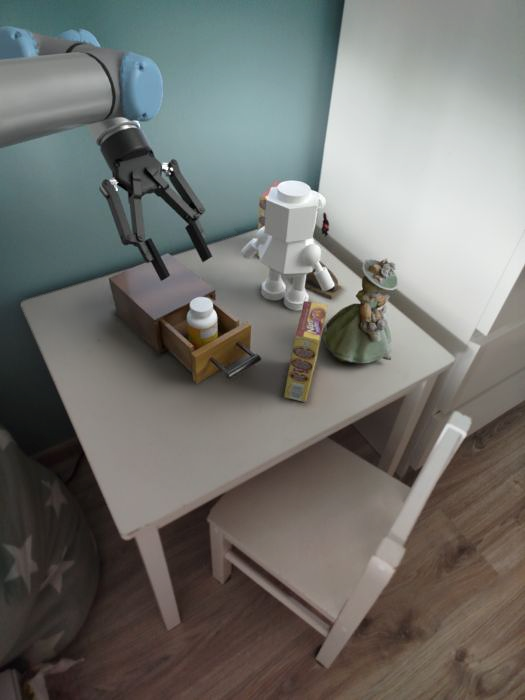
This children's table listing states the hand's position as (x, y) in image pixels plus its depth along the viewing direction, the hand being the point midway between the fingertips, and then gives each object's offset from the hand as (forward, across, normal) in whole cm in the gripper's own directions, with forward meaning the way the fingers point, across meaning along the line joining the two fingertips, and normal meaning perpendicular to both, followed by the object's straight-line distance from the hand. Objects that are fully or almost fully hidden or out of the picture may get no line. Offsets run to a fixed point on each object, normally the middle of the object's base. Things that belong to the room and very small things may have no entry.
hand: (187, 268), depth 77 cm
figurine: (+28, +23, -3) cm, 36 cm away
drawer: (+15, 0, +8) cm, 17 cm away
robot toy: (+13, +23, +11) cm, 29 cm away
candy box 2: (+27, +9, -2) cm, 28 cm away
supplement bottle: (+13, 0, +8) cm, 16 cm away
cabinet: (+6, 0, +19) cm, 19 cm away
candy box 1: (+3, +34, +22) cm, 40 cm away
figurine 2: (+13, +32, +12) cm, 36 cm away
